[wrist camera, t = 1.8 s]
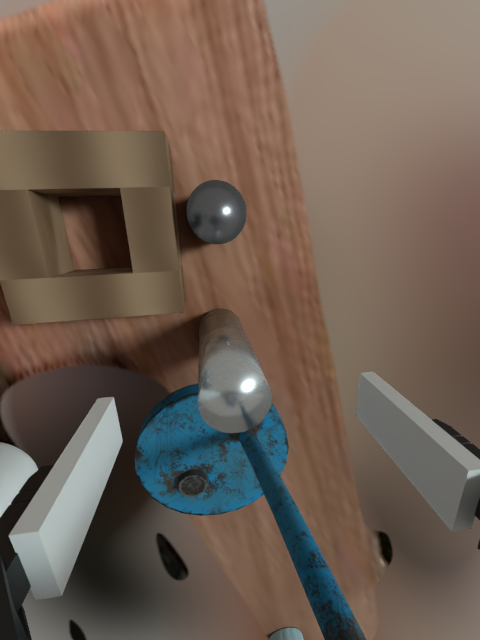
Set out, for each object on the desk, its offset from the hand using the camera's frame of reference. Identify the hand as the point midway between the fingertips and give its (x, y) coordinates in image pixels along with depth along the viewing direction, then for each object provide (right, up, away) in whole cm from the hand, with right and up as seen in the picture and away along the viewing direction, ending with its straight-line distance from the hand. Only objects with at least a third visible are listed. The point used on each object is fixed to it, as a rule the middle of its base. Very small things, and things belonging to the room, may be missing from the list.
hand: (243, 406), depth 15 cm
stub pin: (-2, +13, +8) cm, 16 cm away
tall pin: (-2, +4, +11) cm, 12 cm away
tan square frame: (-11, +12, +8) cm, 18 cm away
